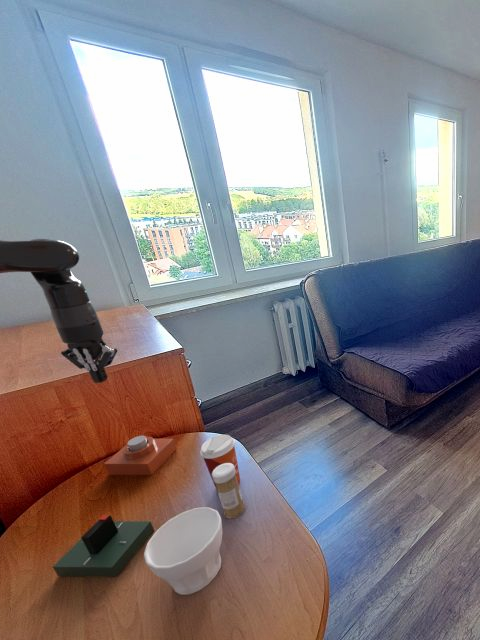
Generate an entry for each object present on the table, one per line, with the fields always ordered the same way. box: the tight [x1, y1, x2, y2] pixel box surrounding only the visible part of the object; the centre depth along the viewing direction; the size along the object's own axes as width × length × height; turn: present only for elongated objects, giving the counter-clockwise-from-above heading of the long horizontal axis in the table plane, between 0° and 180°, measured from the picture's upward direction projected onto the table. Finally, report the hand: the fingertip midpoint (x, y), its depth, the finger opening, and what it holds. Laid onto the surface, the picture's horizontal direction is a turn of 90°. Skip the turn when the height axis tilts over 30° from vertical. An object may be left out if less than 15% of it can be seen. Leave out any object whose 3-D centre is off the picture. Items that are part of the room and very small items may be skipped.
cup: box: [143, 507, 223, 596], centre depth 67 cm, size 12×12×11 cm
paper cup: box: [199, 433, 241, 491], centre depth 87 cm, size 8×8×14 cm
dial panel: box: [52, 520, 155, 578], centre depth 72 cm, size 12×10×3 cm
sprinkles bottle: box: [211, 463, 246, 520], centre depth 79 cm, size 5×5×13 cm
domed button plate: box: [103, 436, 178, 476], centre depth 95 cm, size 12×10×6 cm
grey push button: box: [126, 435, 148, 451], centre depth 94 cm, size 4×4×2 cm
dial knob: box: [80, 514, 118, 554], centre depth 70 cm, size 5×2×5 cm, turn 179°
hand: (101, 381), depth 89 cm, fingers closed
